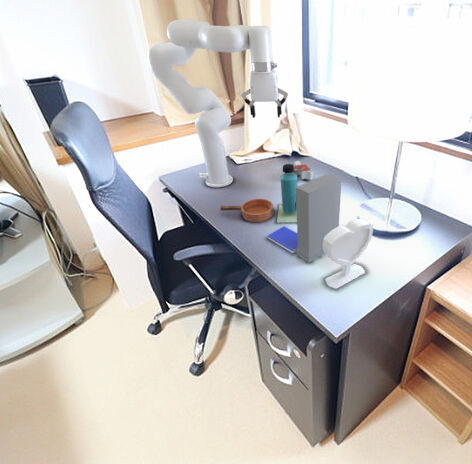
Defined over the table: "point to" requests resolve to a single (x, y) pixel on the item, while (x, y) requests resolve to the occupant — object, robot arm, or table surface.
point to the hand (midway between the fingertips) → (266, 116)
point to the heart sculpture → (347, 250)
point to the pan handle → (230, 207)
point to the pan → (257, 210)
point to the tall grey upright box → (317, 213)
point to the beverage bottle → (289, 189)
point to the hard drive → (285, 239)
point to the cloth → (286, 216)
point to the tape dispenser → (303, 170)
